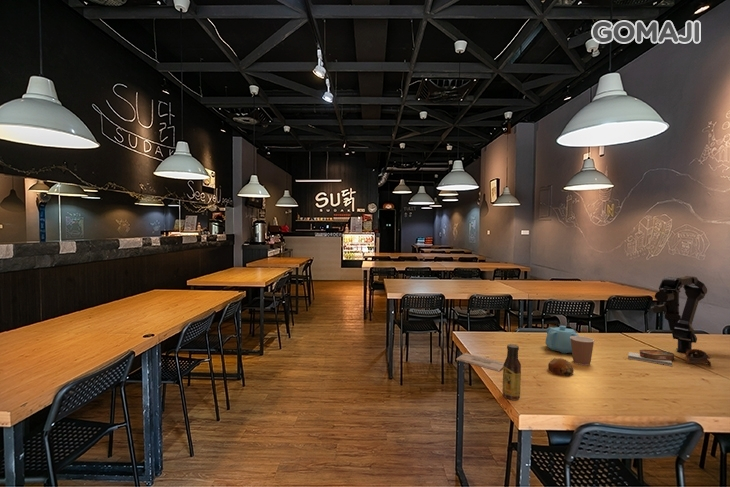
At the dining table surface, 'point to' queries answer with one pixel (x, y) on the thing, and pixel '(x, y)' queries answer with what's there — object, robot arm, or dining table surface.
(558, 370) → the bread roll
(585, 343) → the coffee cup
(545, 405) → the dining table surface
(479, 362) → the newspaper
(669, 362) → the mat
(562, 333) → the decorative pot
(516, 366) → the sauce bottle
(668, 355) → the tin
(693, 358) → the pottery mug
